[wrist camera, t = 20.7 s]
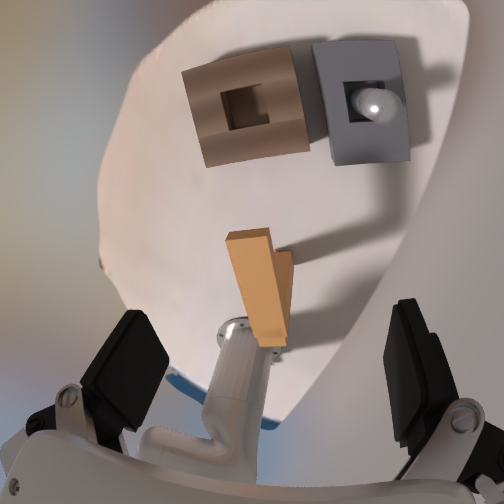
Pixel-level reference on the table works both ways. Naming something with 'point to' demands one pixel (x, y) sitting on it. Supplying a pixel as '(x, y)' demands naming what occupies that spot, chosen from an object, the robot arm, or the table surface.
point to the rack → (347, 120)
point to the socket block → (247, 107)
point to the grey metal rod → (376, 105)
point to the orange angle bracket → (263, 283)
